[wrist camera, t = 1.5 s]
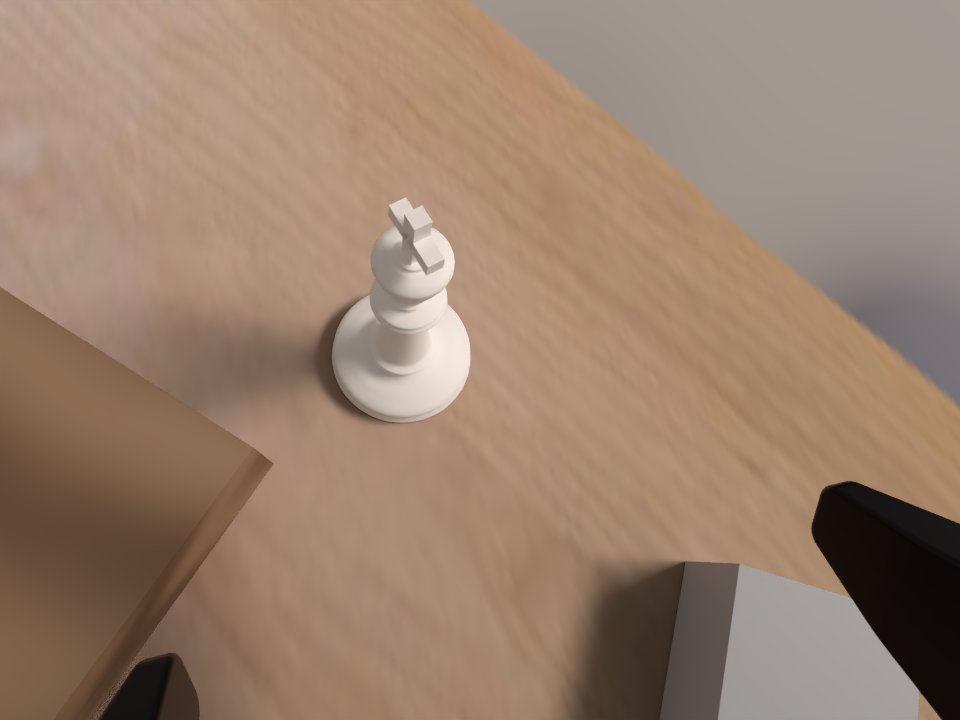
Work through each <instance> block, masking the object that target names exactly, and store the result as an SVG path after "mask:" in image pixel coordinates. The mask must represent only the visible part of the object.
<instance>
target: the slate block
mask: <svg viewBox="0 0 960 720" xmlns="http://www.w3.org/2000/svg"><path fill="white" fill-rule="evenodd" d="M918 705H919V690H918V689H917V688H916V686H915V685H914V684H913V682H912V681H911V680H910V679H909V677H908V676H907V675H906V673H905V672H904V671H903V670H902V668H901V667H900V666H899V665H898V663H897V662H896V661H895V659H894V658H893V657H892V656H891V654H890V653H889V652H888V650H887V649H886V648H885V646H884V645H883V644H882V642H881V641H880V640H879V638H878V637H877V636H876V634H875V633H874V631H873V630H872V629H871V627H870V626H869V624H868V623H867V621H866V620H865V618H864V617H863V615H862V614H861V612H860V611H859V609H858V608H857V606H856V604H855V603H854V601H853V600H852V598H849V597H846V596H843V595H839V594H836V593H833V592H830V591H826V590H823V589H820V588H817V587H813V586H810V585H807V584H804V583H800V582H797V581H794V580H791V579H787V578H784V577H781V576H778V575H774V574H771V573H768V572H765V571H761V570H758V569H755V568H752V567H748V566H745V565H742V564H733V563H711V562H690V561H686V562H685V568H684V574H683V580H682V586H681V592H680V598H679V604H678V610H677V616H676V622H675V628H674V634H673V640H672V646H671V652H670V658H669V664H668V670H667V676H666V682H665V688H664V694H663V700H662V706H661V712H660V718H659V720H918Z"/></svg>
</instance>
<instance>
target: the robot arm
mask: <svg viewBox="0 0 960 720" xmlns="http://www.w3.org/2000/svg"><path fill="white" fill-rule="evenodd" d="M811 529H812V535H813V538H814V541H815V543H816V545H817V546H818V548H819V549H820V551H821V552H822V554H823V555H824V557H825V558H826V560H827V561H828V563H829V565H830V566H831V568H832V569H833V571H834V572H835V574H836V575H837V577H838V578H839V580H840V581H841V583H842V584H843V586H844V588H845V589H846V591H847V592H848V594H849V595H850V597H851V598H852V600H853V601H854V603H855V604H856V606H857V608H858V609H859V611H860V612H861V614H862V615H863V617H864V618H865V620H866V621H867V623H868V624H869V626H870V627H871V629H872V630H873V631H874V633H875V634H876V636H877V637H878V638H879V640H880V641H881V642H882V644H883V645H884V646H885V648H886V649H887V650H888V652H889V653H890V654H891V656H892V657H893V658H894V659H895V661H896V662H897V663H898V665H899V666H900V667H901V668H902V670H903V671H904V672H905V673H906V675H907V676H908V677H909V679H910V680H911V681H912V682H913V684H914V685H915V686H916V688H917V689H918V690H919V691H920V693H921V694H922V695H923V696H924V698H925V699H926V700H927V702H928V703H929V704H930V705H931V707H932V708H933V709H934V710H935V712H936V713H937V714H938V716H939V717H940V718H941V719H942V720H960V524H959V523H956V522H954V521H951V520H949V519H946V518H944V517H942V516H939V515H937V514H934V513H932V512H929V511H927V510H924V509H922V508H919V507H917V506H914V505H912V504H909V503H907V502H904V501H902V500H899V499H897V498H894V497H892V496H889V495H887V494H884V493H882V492H879V491H877V490H874V489H872V488H869V487H867V486H864V485H862V484H859V483H857V482H853V481H846V482H841V483H837V484H833V485H829V486H827V487H825V488H824V489H823V490H822V492H821V494H820V498H819V501H818V505H817V508H816V512H815V515H814V519H813V522H812V527H811ZM99 720H199V702H198V696H197V693H196V690H195V688H194V686H193V684H192V681H191V679H190V677H189V675H188V673H187V670H186V668H185V666H184V664H183V662H182V660H181V658H180V657H179V655H177V654H176V653H168V654H164V655H160V656H156V657H152V658H148V659H145V660H142V661H141V662H139V663H138V664H137V665H136V666H135V667H134V669H133V670H132V671H131V673H130V674H129V676H128V677H127V679H126V680H125V682H124V683H123V685H122V686H121V687H120V689H119V690H118V692H117V693H116V695H115V696H114V698H113V699H112V701H111V702H110V704H109V705H108V707H107V708H106V709H105V711H104V712H103V714H102V715H101V717H100V718H99Z"/></svg>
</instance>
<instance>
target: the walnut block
mask: <svg viewBox="0 0 960 720" xmlns="http://www.w3.org/2000/svg"><path fill="white" fill-rule="evenodd" d="M272 465H273V463H272V462H271V461H270V460H268V459H267V458H266V457H264V456H263V455H262V454H261V453H259V452H258V451H257V450H255V449H254V448H253V447H251V446H250V445H248V444H247V443H245V442H243V441H242V440H240V439H239V438H237V437H235V436H234V435H232V434H231V433H229V432H228V431H226V430H224V429H223V428H221V427H220V426H218V425H217V424H215V423H213V422H212V421H210V420H209V419H207V418H205V417H204V416H202V415H201V414H199V413H198V412H196V411H194V410H193V409H191V408H190V407H188V406H187V405H185V404H183V403H182V402H180V401H179V400H177V399H176V398H174V397H172V396H171V395H169V394H168V393H166V392H164V391H163V390H161V389H160V388H158V387H157V386H155V385H153V384H152V383H150V382H149V381H147V380H146V379H144V378H142V377H141V376H139V375H138V374H136V373H134V372H133V371H131V370H130V369H128V368H127V367H125V366H123V365H122V364H120V363H119V362H117V361H116V360H114V359H112V358H111V357H109V356H108V355H106V354H105V353H103V352H101V351H100V350H98V349H97V348H95V347H93V346H92V345H90V344H89V343H87V342H86V341H84V340H82V339H81V338H79V337H78V336H76V335H75V334H73V333H71V332H70V331H68V330H67V329H65V328H63V327H62V326H60V325H59V324H57V323H56V322H54V321H52V320H51V319H49V318H48V317H46V316H45V315H43V314H41V313H40V312H38V311H37V310H35V309H34V308H32V307H30V306H29V305H27V304H26V303H24V302H22V301H21V300H19V299H18V298H16V297H15V296H13V295H11V294H10V293H8V292H7V291H5V290H4V289H2V288H0V720H90V718H91V717H92V716H93V714H94V713H95V711H96V710H97V709H98V707H99V706H100V704H101V703H102V702H103V700H104V699H105V698H106V696H107V695H108V693H109V692H110V691H111V689H112V688H113V686H114V685H115V684H116V682H117V681H118V679H119V678H120V677H121V675H122V674H123V672H124V671H125V670H126V668H127V667H128V665H129V664H130V663H131V661H132V660H133V659H134V657H135V656H136V654H137V653H138V652H139V650H140V649H141V647H142V646H143V645H144V643H145V642H146V640H147V639H148V638H149V636H150V635H151V633H152V632H153V631H154V629H155V628H156V626H157V625H158V624H159V622H160V621H161V620H162V618H163V617H164V615H165V614H166V613H167V611H168V610H169V608H170V607H171V606H172V604H173V603H174V601H175V600H176V599H177V597H178V596H179V594H180V593H181V592H182V590H183V589H184V588H185V586H186V585H187V583H188V582H189V581H190V579H191V578H192V576H193V575H194V574H195V572H196V571H197V569H198V568H199V567H200V565H201V564H202V562H203V561H204V560H205V558H206V557H207V555H208V554H209V553H210V551H211V550H212V549H213V547H214V546H215V544H216V543H217V542H218V540H219V539H220V537H221V536H222V535H223V533H224V532H225V530H226V529H227V528H228V526H229V525H230V523H231V522H232V521H233V519H234V518H235V516H236V515H237V514H238V512H239V511H240V510H241V508H242V507H243V505H244V504H245V503H246V501H247V500H248V498H249V497H250V496H251V494H252V493H253V491H254V490H255V489H256V487H257V486H258V484H259V483H260V482H261V480H262V479H263V478H264V476H265V475H266V473H267V472H268V471H269V469H270V468H271V466H272Z"/></svg>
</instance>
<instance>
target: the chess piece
mask: <svg viewBox="0 0 960 720" xmlns="http://www.w3.org/2000/svg"><path fill="white" fill-rule="evenodd" d="M389 217H390V219H391V220H392V222H393V223H394V225H395V226H393V227H391V228H389V229H387V230H386V231H385V232H383V233H382V234H381V235H380V236H379V238H378V239H377V240H376V242H375V244H374V246H373V249H372V252H371V268H372V271H373V274H374V277H375V280H374V281H373V283H372V286H371V289H370V294H369V295H368V296H366V297H364V298H362V299H361V300H360V301H358V302H357V303H356V304H355V305H353V306H352V307H351V308H350V310H349V311H348V312H347V313H346V314H345V316H344V317H343V319H342V320H341V322H340V324H339V326H338V329H337V331H336V335H335V338H334V342H333V348H332V365H333V370H334V374H335V377H336V380H337V382H338V384H339V386H340V388H341V390H342V391H343V393H344V394H345V396H346V397H347V398H348V399H349V400H350V401H351V402H352V403H353V404H354V405H355V406H356V407H357V408H359V409H360V410H361V411H363V412H365V413H366V414H368V415H370V416H372V417H375V418H377V419H380V420H384V421H388V422H395V423H408V422H415V421H420V420H423V419H426V418H429V417H431V416H433V415H435V414H437V413H439V412H440V411H442V410H443V409H445V408H446V407H447V406H448V405H449V404H451V403H452V402H453V400H454V399H455V398H456V397H457V396H458V394H459V393H460V391H461V390H462V388H463V386H464V384H465V382H466V379H467V376H468V373H469V368H470V344H469V339H468V335H467V332H466V329H465V327H464V325H463V323H462V321H461V320H460V318H459V317H458V315H457V314H456V313H455V311H454V310H453V309H452V308H451V307H450V306H449V305H448V304H447V292H446V289H445V287H446V286H447V284H448V283H449V281H450V279H451V277H452V275H453V271H454V264H455V261H454V254H453V251H452V248H451V246H450V244H449V242H448V241H447V240H446V238H445V237H444V236H443V235H442V234H441V233H440V232H438V231H437V230H435V229H434V228H432V220H431V219H430V217H429V215H428V214H427V212H426V211H425V209H424V208H423V206H420V207H418V208H415V209H413V208H412V206H411V205H410V203H409V202H408V200H407V198H404V199H402V200H400V201H397V202H395V203H393V204H391V205H389Z"/></svg>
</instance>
